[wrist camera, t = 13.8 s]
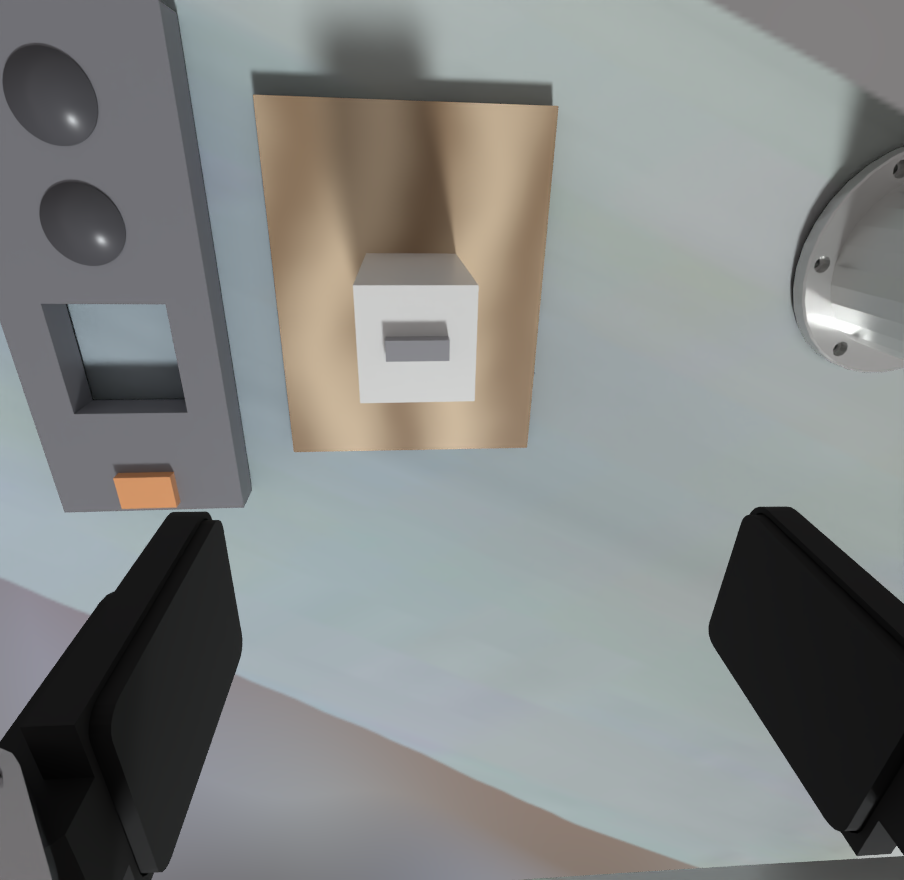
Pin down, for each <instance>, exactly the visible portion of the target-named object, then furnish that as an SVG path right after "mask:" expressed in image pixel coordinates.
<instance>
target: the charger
mask: <svg viewBox="0 0 904 880" xmlns="http://www.w3.org/2000/svg"><path fill="white" fill-rule="evenodd" d="M478 292H479V285H478V284H477V282H476V281H475V279H474V278H473V277H472V275H471V274H470V272H469V271H468V270H467V268H466V267H465V265H464V264H463V263H462V261H461V260H460V259H459V257H458V256H457V254H448V253H366V255H365V257H364V259H363V262H362V264H361V267H360V269H359V272H358V274H357V276H356V279H355V281H354V284H353V296H354V312H355V328H356V344H357V360H358V376H359V392H360V403H404V402H458V401H475V376H476V348H477V320H478Z"/></svg>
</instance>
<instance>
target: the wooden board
mask: <svg viewBox="0 0 904 880" xmlns="http://www.w3.org/2000/svg"><path fill="white" fill-rule="evenodd" d="M253 100H254V109H255V117H256V126H257V135H258V143H259V152H260V161H261V169H262V178H263V187H264V196H265V204H266V213H267V222H268V230H269V239H270V248H271V256H272V265H273V274H274V283H275V291H276V300H277V309H278V317H279V326H280V335H281V343H282V352H283V361H284V369H285V378H286V387H287V396H288V404H289V413H290V422H291V430H292V439H293V448H294V452H321V451H374V450H427V449H480V448H527V441H528V430H529V420H530V409H531V398H532V387H533V376H534V365H535V354H536V344H537V333H538V322H539V311H540V300H541V289H542V278H543V268H544V257H545V246H546V235H547V224H548V213H549V202H550V192H551V181H552V170H553V159H554V148H555V137H556V126H557V116H558V106H544V105H517V104H490V103H464V102H437V101H410V100H383V99H356V98H330V97H303V96H276V95H253ZM366 253H448V254H457V256H458V257H459V259H460V260H461V261H462V263H463V264H464V265H465V267H466V268H467V270H468V271H469V272H470V274H471V275H472V277H473V278H474V279H475V281H476V282H477V284H478V285H479V292H478V320H477V348H476V376H475V401H458V402H404V403H360V392H359V376H358V360H357V344H356V328H355V312H354V296H353V284H354V281H355V279H356V276H357V274H358V272H359V269H360V267H361V264H362V262H363V259H364V257H365V255H366Z"/></svg>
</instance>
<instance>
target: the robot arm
mask: <svg viewBox="0 0 904 880" xmlns="http://www.w3.org/2000/svg"><path fill="white" fill-rule="evenodd" d="M793 302H794V312H795V316H796V320H797V324H798V327H799V329H800V331H801V333H802V335H803V337H804V339H805V341H806V342H807V343H808V344H809V345H810V347H811V348H812V349H813V350H814V351H815V352H816V353H817V354H818V355H820V356H822V357H823V358H825V359H826V360H828V361H829V362H832V363H834V364H836V365H839V366H841V367H844V368H846V369H849V370H854V371H859V372H864V373H871V372H887V371H892V370H898V369H902V368H904V146H903V147H901V148H898V149H896V150H893V151H891V152H889V153H887V154H886V155H884V156H882V157H881V158H879V159H877V160H876V161H874V162H872V163H871V164H869V165H868V166H867V167H865V168H864V169H863V170H862V171H861V172H859V173H858V174H857V175H856V176H854V177H853V178H852V179H851V180H850V181H848V182H847V183H846V185H845V186H844V187H843V188H842V189H841V190H840V191H839V192H838V193H837V194H836V195H835V196H834V198H833V199H832V200H831V201H830V202H829V204H828V205H827V206H826V208H825V209H824V211H823V212H822V214H821V215H820V216H819V218H818V219H817V221H816V222H815V224H814V226H813V228H812V230H811V232H810V234H809V236H808V238H807V240H806V242H805V244H804V246H803V249H802V252H801V255H800V258H799V261H798V264H797V267H796V273H795V280H794V286H793ZM709 637H710V640H711V642H712V644H713V646H714V648H715V649H716V651H717V652H718V654H719V655H720V657H721V659H722V660H723V662H724V663H725V665H726V666H727V668H728V669H729V671H730V673H731V674H732V676H733V677H734V679H735V680H736V682H737V683H738V685H739V686H740V688H741V690H742V691H743V693H744V694H745V696H746V697H747V699H748V700H749V702H750V703H751V705H752V707H753V708H754V710H755V711H756V713H757V714H758V716H759V717H760V719H761V721H762V722H763V724H764V725H765V727H766V728H767V730H768V731H769V733H770V734H771V736H772V738H773V739H774V741H775V742H776V744H777V745H778V747H779V748H780V750H781V752H782V753H783V755H784V756H785V758H786V759H787V761H788V762H789V764H790V765H791V767H792V769H793V770H794V772H795V773H796V775H797V776H798V778H799V779H800V781H801V783H802V784H803V786H804V787H805V789H806V790H807V792H808V793H809V795H810V796H811V798H812V800H813V801H814V803H815V804H816V806H817V807H818V809H819V810H820V812H821V813H822V815H823V817H824V818H825V819H826V821H827V822H828V823H829V825H830V826H832V827H833V828H834V829H835V830H838V831H841V833H842V834H843V836H844V837H845V839H846V840H847V842H848V843H849V845H850V847H851V848H852V850H853V851H854V853H855V854H856V856H862V855H879V854H891V853H892V851H893V850H894V848H895V847H896V846H898V848H899V849H900V850H901V852H902V853H903V855H904V604H903V603H902V602H901V601H900V600H899V599H898V598H896V597H895V596H894V595H893V594H892V593H891V592H889V591H888V590H887V589H886V588H885V587H884V586H883V585H881V584H880V583H879V582H878V581H877V580H876V579H875V578H873V577H872V576H871V575H870V574H869V573H868V572H866V571H865V570H864V569H863V568H862V567H861V566H860V565H858V564H857V563H856V562H855V561H854V560H853V559H852V558H850V557H849V556H848V555H847V554H846V553H845V552H843V551H842V550H841V549H840V548H839V547H838V546H837V545H835V544H834V543H833V542H832V541H831V540H830V539H829V538H827V537H826V536H825V535H824V534H823V533H822V532H820V531H819V530H818V529H817V528H816V527H815V526H814V525H812V524H811V523H810V522H809V521H808V520H807V519H806V518H804V517H803V516H802V515H801V514H800V513H799V512H797V511H796V510H795V509H793V508H791V507H757V508H755V509H754V510H753V511H752V512H751V513H750V515H747V516H745V517H744V518H743V520H742V522H741V525H740V528H739V532H738V535H737V538H736V541H735V544H734V547H733V550H732V554H731V557H730V560H729V563H728V566H727V569H726V572H725V575H724V579H723V582H722V585H721V588H720V591H719V594H718V597H717V600H716V604H715V607H714V610H713V613H712V616H711V619H710V622H709ZM241 652H242V633H241V627H240V621H239V616H238V610H237V604H236V599H235V593H234V587H233V581H232V576H231V570H230V564H229V559H228V553H227V547H226V541H225V536H224V530H223V526H222V523H221V521H219V520H212V518H211V516H210V514H209V513H208V512H172V513H170V514H169V515H168V516H167V517H166V519H165V520H164V522H163V523H162V525H161V526H160V527H159V529H158V530H157V532H156V533H155V535H154V536H153V537H152V539H151V540H150V542H149V543H148V545H147V546H146V547H145V549H144V550H143V552H142V553H141V555H140V556H139V557H138V559H137V560H136V562H135V563H134V565H133V566H132V567H131V569H130V570H129V572H128V573H127V574H126V576H125V577H124V579H123V580H122V582H121V583H120V584H119V586H118V587H117V589H116V590H115V592H112V593H110V594H108V595H106V597H105V598H104V599H103V600H102V601H101V602H100V603H99V604H98V606H97V607H96V609H95V610H94V611H93V613H92V614H91V616H90V617H89V618H88V620H87V621H86V623H85V624H84V625H83V627H82V628H81V630H80V631H79V632H78V634H77V635H76V637H75V638H74V639H73V641H72V642H71V644H70V645H69V646H68V648H67V649H66V650H65V652H64V653H63V655H62V656H61V657H60V659H59V660H58V662H57V663H56V664H55V666H54V667H53V669H52V670H51V671H50V673H49V674H48V676H47V677H46V678H45V680H44V681H43V683H42V684H41V686H40V687H39V688H38V690H37V691H36V692H35V694H34V695H33V697H32V698H31V699H30V701H29V702H28V703H27V705H26V706H25V708H24V709H23V711H22V712H21V713H20V715H19V716H18V717H17V719H16V720H15V722H14V723H13V725H12V726H11V727H10V729H9V730H8V731H7V733H6V734H5V736H4V737H3V739H2V740H1V741H0V880H151V879H152V876H153V874H154V872H163V871H164V870H165V869H166V867H167V866H168V864H169V861H170V859H171V857H172V854H173V851H174V848H175V845H176V842H177V839H178V837H179V834H180V831H181V828H182V825H183V822H184V819H185V817H186V814H187V811H188V808H189V805H190V802H191V799H192V796H193V793H194V790H195V788H196V785H197V782H198V779H199V776H200V773H201V770H202V767H203V764H204V761H205V759H206V756H207V753H208V750H209V747H210V744H211V741H212V738H213V735H214V733H215V730H216V727H217V724H218V721H219V718H220V715H221V712H222V709H223V706H224V704H225V701H226V698H227V695H228V692H229V689H230V686H231V683H232V680H233V678H234V675H235V672H236V669H237V666H238V663H239V660H240V657H241ZM525 880H904V856H899V857H882V858H865V859H847V860H830V861H812V862H795V863H778V864H761V865H744V866H728V867H712V868H696V869H681V870H664V871H649V872H634V873H617V874H603V875H587V876H572V877H556V878H540V879H525Z"/></svg>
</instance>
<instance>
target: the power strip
mask: <svg viewBox="0 0 904 880" xmlns="http://www.w3.org/2000/svg"><path fill="white" fill-rule="evenodd" d="M66 304H166V308H167V313H168V318H169V323H170V328H171V333H172V338H173V343H174V348H175V353H176V358H177V363H178V368H179V373H180V378H181V382H182V387H183V392H184V397H185V399H158V400H93V399H92V396H91V392H90V389H89V385H88V381H87V378H86V374H85V371H84V367H83V364H82V360H81V357H80V353H79V349H78V346H77V342H76V339H75V335H74V332H73V328H72V325H71V321H70V317H69V314H68V310H67V307H66ZM0 322H1V325H2V328H3V331H4V334H5V337H6V340H7V343H8V346H9V349H10V352H11V355H12V358H13V361H14V364H15V367H16V370H17V373H18V376H19V379H20V381H21V384H22V387H23V390H24V393H25V396H26V399H27V402H28V405H29V408H30V411H31V414H32V417H33V420H34V423H35V426H36V429H37V432H38V435H39V438H40V441H41V444H42V447H43V450H44V453H45V456H46V459H47V461H48V464H49V467H50V470H51V473H52V476H53V479H54V482H55V485H56V488H57V491H58V494H59V497H60V500H61V503H62V506H63V509H64V512H97V511H133V510H170V509H206V508H243V507H244V506H245V504H246V502H247V500H248V497H249V495H250V493H251V491H252V487H251V481H250V474H249V468H248V462H247V455H246V449H245V443H244V436H243V430H242V424H241V417H240V411H239V405H238V398H237V392H236V386H235V379H234V373H233V367H232V360H231V354H230V348H229V341H228V335H227V329H226V322H225V316H224V310H223V303H222V297H221V291H220V284H219V278H218V272H217V265H216V259H215V253H214V246H213V240H212V234H211V227H210V221H209V215H208V208H207V202H206V195H205V189H204V183H203V176H202V170H201V164H200V157H199V151H198V145H197V138H196V132H195V126H194V119H193V113H192V107H191V100H190V94H189V88H188V81H187V75H186V69H185V62H184V56H183V50H182V43H181V37H180V31H179V24H178V18H177V13H176V12H175V11H173V10H172V9H170V8H169V7H168V6H166V5H165V4H164V3H162V2H161V1H159V0H0Z"/></svg>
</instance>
